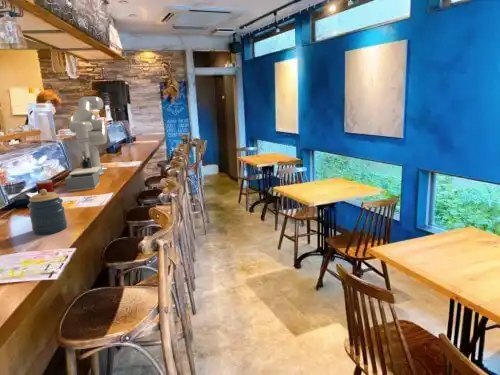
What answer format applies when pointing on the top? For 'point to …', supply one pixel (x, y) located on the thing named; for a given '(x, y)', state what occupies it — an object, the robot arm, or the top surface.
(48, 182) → the canned food
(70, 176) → the grey box
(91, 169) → the sliding lid
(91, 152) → the robot arm
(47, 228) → the canister
